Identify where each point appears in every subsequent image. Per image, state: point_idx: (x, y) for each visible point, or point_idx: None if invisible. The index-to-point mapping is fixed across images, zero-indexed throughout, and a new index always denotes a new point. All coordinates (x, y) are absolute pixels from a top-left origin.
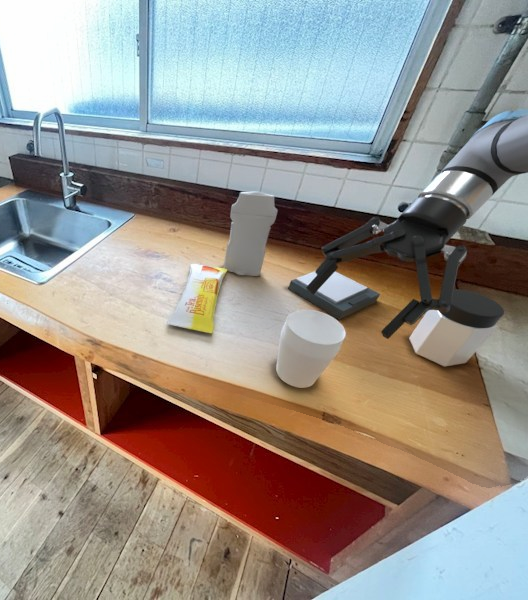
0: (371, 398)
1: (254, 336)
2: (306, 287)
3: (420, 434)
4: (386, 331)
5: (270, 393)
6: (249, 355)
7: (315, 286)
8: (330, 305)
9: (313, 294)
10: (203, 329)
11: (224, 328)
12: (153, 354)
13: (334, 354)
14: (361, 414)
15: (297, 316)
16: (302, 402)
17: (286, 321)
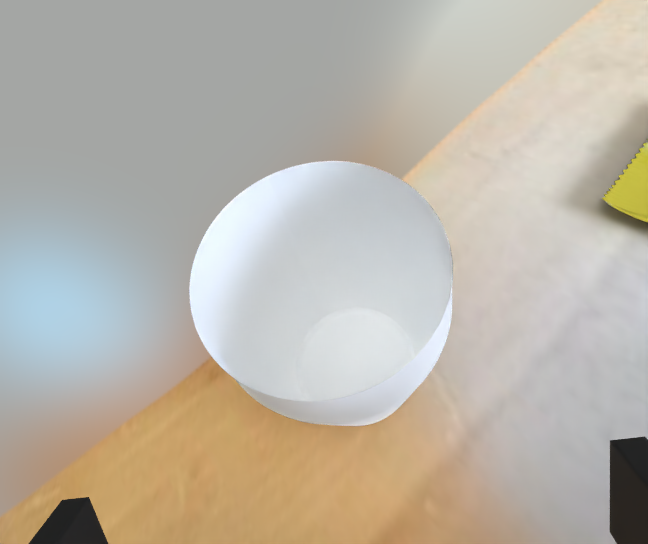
0: (179, 524)
1: (567, 353)
2: (642, 438)
3: None
4: (60, 510)
5: None
6: (475, 281)
7: (641, 518)
8: None
9: (612, 532)
10: (630, 182)
11: (639, 273)
12: (553, 56)
13: (213, 312)
14: (164, 436)
15: (450, 307)
16: None
17: (395, 179)
